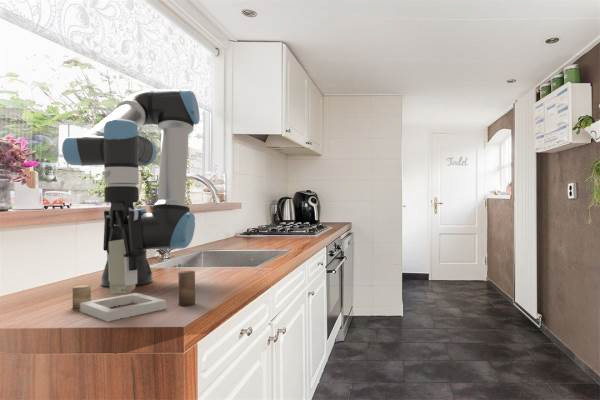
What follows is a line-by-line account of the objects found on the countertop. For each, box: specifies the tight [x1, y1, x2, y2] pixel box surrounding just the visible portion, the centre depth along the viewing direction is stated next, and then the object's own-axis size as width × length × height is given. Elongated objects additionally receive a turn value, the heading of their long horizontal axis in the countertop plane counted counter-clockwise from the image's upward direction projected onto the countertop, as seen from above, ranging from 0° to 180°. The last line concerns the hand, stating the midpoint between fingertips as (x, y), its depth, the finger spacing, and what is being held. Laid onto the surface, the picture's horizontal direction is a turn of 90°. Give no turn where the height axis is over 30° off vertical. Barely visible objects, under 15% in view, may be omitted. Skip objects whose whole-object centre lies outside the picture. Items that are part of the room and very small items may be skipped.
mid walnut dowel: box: [177, 270, 196, 307], centre depth 108 cm, size 4×4×8 cm
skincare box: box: [109, 240, 136, 295], centre depth 103 cm, size 6×4×12 cm
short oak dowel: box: [71, 284, 92, 310], centre depth 106 cm, size 4×4×5 cm
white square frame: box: [79, 292, 167, 322], centre depth 103 cm, size 14×14×2 cm
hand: (122, 282), depth 103 cm, fingers closed on skincare box, 7 cm apart
